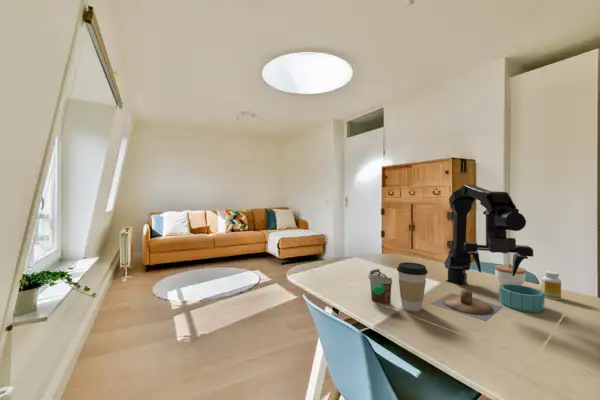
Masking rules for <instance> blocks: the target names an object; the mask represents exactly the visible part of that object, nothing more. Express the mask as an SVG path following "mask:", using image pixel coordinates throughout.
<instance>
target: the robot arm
mask: <svg viewBox="0 0 600 400" xmlns="http://www.w3.org/2000/svg"><path fill="white" fill-rule="evenodd" d="M476 200H478V201H479V202H480V203H479V204H480V205H481V206H482V207H484V208H485V210H484V211H483V213H482V214H483V215H485V244H478V243H477V242H471V241H467V221H468V220H467V219H468V214H469V213H470V211H471V210H472V208H473V203H474V202H476ZM448 203H449V208H450V209H451V211H452V213H453V236H452V237H453V239H452V240H453V241H452V243H453V245H452V246H451V248H450V249H449V250H448V256H447V257H446V259H445V261H444V263H443V264H444V268H445V269H447V279H446V280H445V281H446V282H447V283H450V284H451V283H452V284H455V285H460V286H463V285H465V284H467V283H468V281H467V280H468V273H466V271H470V267H471V265H472V259H471V257H473V259H474V261H475V264H476V266H477V269H478V272H479V273H481V272H482V266H481V262H480V254H479V252H478V251H484V252H485V251H488V252H490V253H494V254H495V253H501V254H508V253H513V257H512V264H511V266H512V276H515V273H516V271H517V269H518V267H519V266H520V264H521V263H522V262H523V260H527V259H529V257H531V258H532V257H534V249H533V248H532V247H531V246H529V245H520V244H519V245H518V244H517V243H516V241H517V240H516V238H514V237H507V231H512V232H518V231H521V230H523V229H525V227H526V225H527V220H526V218H525V216H524V215H523V214H522V213H520V211H519V210H520V209H519V208H517V206H516V204H515V203H514V201H513V199H512V198H511V196H510V194H509V192H507V191H493V190H492V191H491V190H488V189H486V188H483V187H480V186H477V185H476V184H463V185H462V186H461V187H460V188H458V189H457V190H455V191H453V192H452V194H451V195H450V197H449V198H448Z"/></svg>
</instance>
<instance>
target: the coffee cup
mask: <svg viewBox="0 0 600 400" xmlns="http://www.w3.org/2000/svg"><path fill="white" fill-rule="evenodd" d="M396 271H397V272H398V286H399V287H398V288H399V294H400V295H399V296H400V302H401V307H402V308H403V309H404V310H405V311H410V312H420V311H422V308H423V302H424V297H425V288H426V282H427V281H426V278H427V275H428V273H429V272H428V269H427V267H426V266H425V265H424V264H422V263H418V262H412V261H411V262H409V261H408V262H407V261H405V262H400V263H399V264H398V266H397V268H396Z"/></svg>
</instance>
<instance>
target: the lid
mask: <svg viewBox="0 0 600 400" xmlns="http://www.w3.org/2000/svg"><path fill="white" fill-rule="evenodd" d="M446 295H447V296H446ZM446 295H444V296H442V297H443V298H442V297H441V298H442V302H443V304H445V305H446V306H447V307H449V308H451V309H454V310H457V311H460V312H464V313H470V314H489V313H491V312H492V306H491V305H490V304H488V303H489V302H487V301H485V300H482V299H479V298H476V297H473V291H471V290H467V289H461V290H460V294H458V295H448V294H446Z"/></svg>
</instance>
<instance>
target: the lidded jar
mask: <svg viewBox="0 0 600 400" xmlns="http://www.w3.org/2000/svg"><path fill="white" fill-rule="evenodd" d="M494 273H495V274H494V275H495V278H496V280H497V281H498V283H500V285H501V284H517V285H524V283H525V280H526V274H527V270H526V269H525V268H523V267H519V266H518V269H517V271H516V273H515V276H512V263H508V264H496V265H494Z"/></svg>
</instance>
